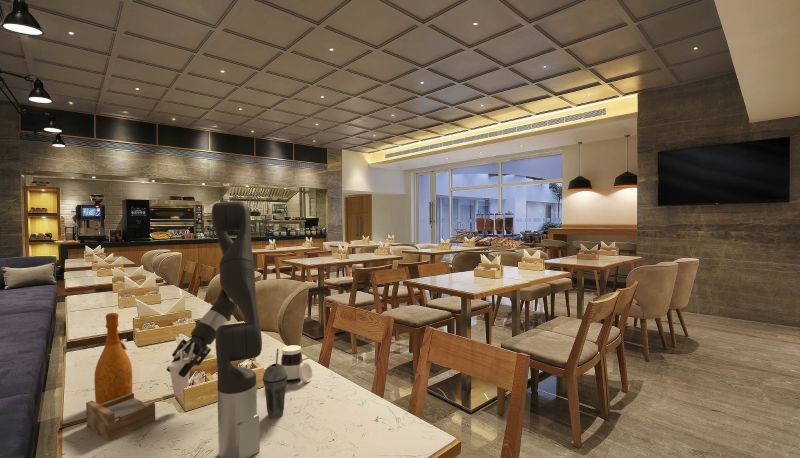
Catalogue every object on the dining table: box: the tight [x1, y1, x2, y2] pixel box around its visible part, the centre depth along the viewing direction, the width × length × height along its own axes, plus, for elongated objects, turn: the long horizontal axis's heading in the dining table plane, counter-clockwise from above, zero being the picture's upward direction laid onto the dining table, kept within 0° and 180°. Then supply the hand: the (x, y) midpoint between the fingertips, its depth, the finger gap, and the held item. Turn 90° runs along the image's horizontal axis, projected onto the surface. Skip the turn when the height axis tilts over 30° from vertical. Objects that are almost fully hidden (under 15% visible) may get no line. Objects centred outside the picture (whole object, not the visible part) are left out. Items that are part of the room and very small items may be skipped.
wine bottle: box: [93, 312, 133, 404], centre depth 126 cm, size 10×10×30 cm
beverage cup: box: [262, 348, 287, 419], centre depth 119 cm, size 7×7×20 cm
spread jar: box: [280, 344, 313, 384], centre depth 145 cm, size 12×11×12 cm
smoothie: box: [168, 349, 191, 397], centre depth 123 cm, size 6×6×14 cm
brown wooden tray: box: [85, 392, 156, 441], centre depth 114 cm, size 14×12×7 cm
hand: (175, 373), depth 121 cm, fingers closed on smoothie, 6 cm apart
